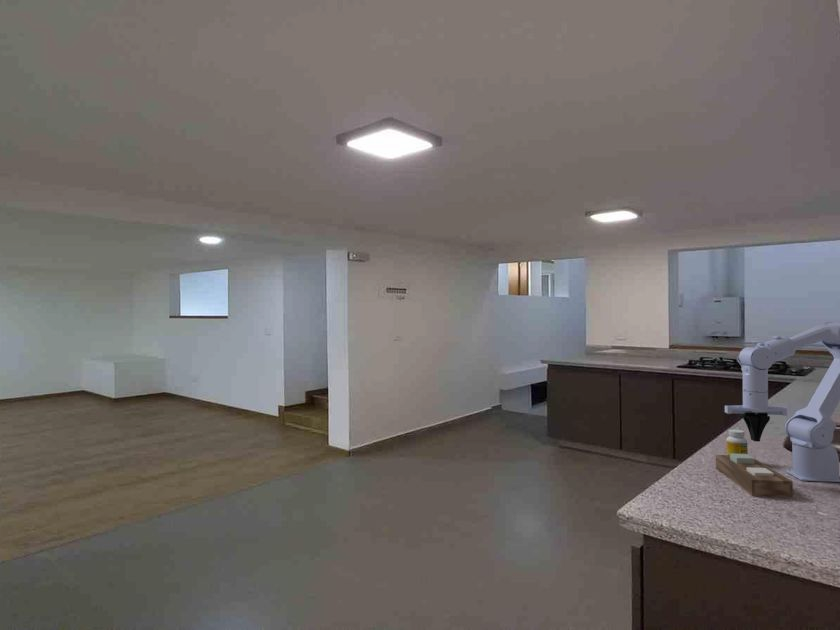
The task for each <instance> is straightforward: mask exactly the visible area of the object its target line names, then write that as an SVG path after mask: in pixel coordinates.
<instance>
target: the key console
mask: <svg viewBox="0 0 840 630" xmlns="http://www.w3.org/2000/svg"><path fill="white" fill-rule="evenodd" d="M746 467H752V468H766V469H768V470H769V471H771V472H772V473H774V476H754V475H752V474H751V473H749V472H748V471H747V469H746ZM715 469H716V470H718V472H720V473H722V475H724V476H725V477H727V478H728V479H730V481H732V482H733V483H735V484H736V485H737V486H738V487H740V488H741V489H742V490H744V491H745V492H746V493H748V494H749V495H750V496H751V497H767V498H768V497H769V498H772V497H773V498H789V499H790V498H791V499H793V498H794V490H793V489H794V486H793V485H794V484H793V482H794V481H793V480H791V479H789V478H788V477H786V476H785V475H783V474H781V473H779V472H778V471H776V470H774V469H773V468H771V467H770V466H768V465H766V464H764V463H763V462H762V461H760V460H758V459H756V458H755V464H736V463H734V462H733V461H731V460H730V455H727V454H715Z"/></svg>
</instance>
